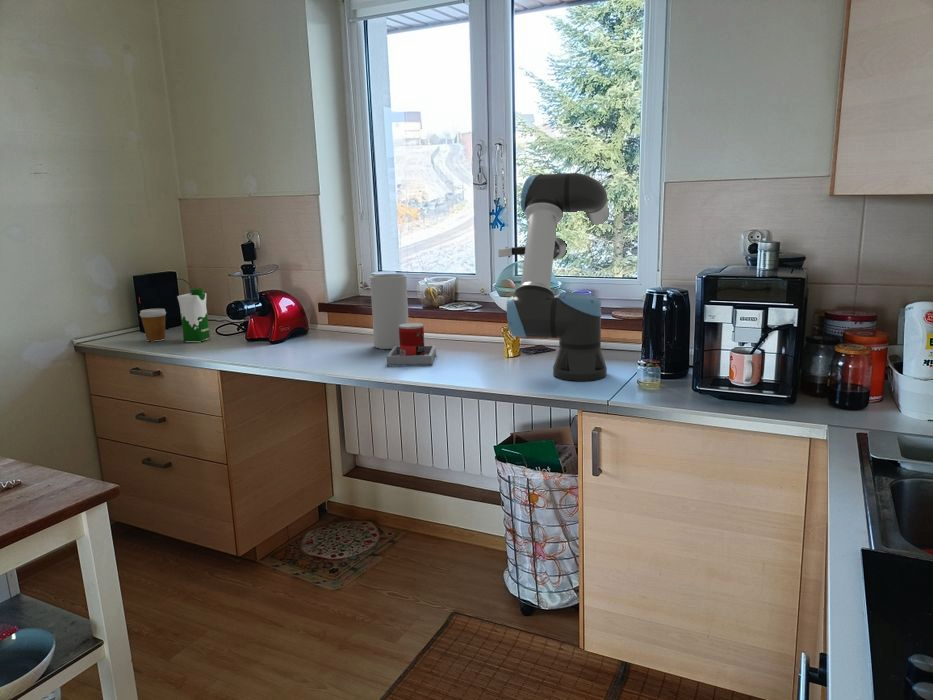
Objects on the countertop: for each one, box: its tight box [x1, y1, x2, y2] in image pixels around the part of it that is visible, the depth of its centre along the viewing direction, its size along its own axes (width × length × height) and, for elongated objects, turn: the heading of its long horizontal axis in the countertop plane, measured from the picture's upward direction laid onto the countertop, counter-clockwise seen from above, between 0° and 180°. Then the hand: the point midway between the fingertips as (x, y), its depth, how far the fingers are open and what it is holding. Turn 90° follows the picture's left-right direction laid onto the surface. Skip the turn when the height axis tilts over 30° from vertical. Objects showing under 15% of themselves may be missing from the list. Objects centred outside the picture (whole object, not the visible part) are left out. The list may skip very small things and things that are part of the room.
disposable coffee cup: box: [139, 308, 167, 341], centre depth 267 cm, size 10×10×12 cm
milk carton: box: [176, 288, 211, 342], centre depth 263 cm, size 9×9×20 cm
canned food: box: [399, 322, 425, 356], centre depth 222 cm, size 8×8×11 cm
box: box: [386, 344, 437, 367], centre depth 223 cm, size 16×14×3 cm
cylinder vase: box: [369, 273, 410, 350], centre depth 242 cm, size 12×12×25 cm
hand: (515, 253), depth 231 cm, fingers open, 13 cm apart
